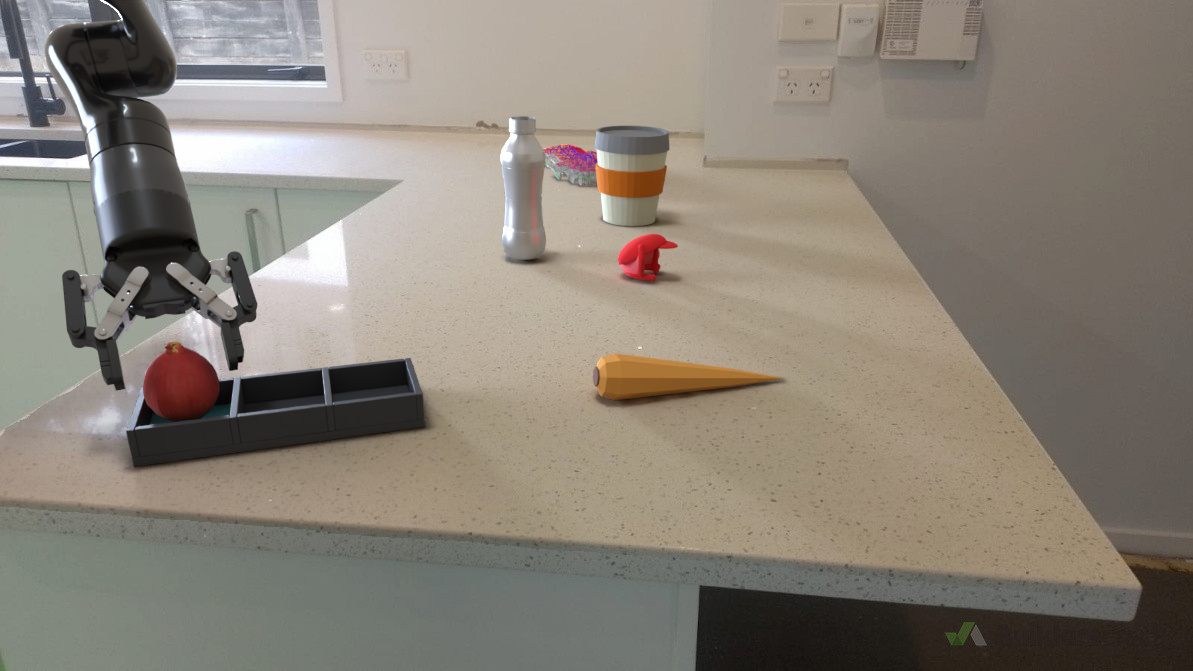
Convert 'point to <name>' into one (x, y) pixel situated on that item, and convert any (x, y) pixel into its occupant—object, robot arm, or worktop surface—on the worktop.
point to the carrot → (663, 377)
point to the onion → (180, 384)
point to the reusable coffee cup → (631, 172)
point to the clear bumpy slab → (578, 159)
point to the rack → (284, 412)
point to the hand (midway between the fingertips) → (178, 376)
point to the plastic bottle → (523, 191)
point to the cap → (643, 256)
